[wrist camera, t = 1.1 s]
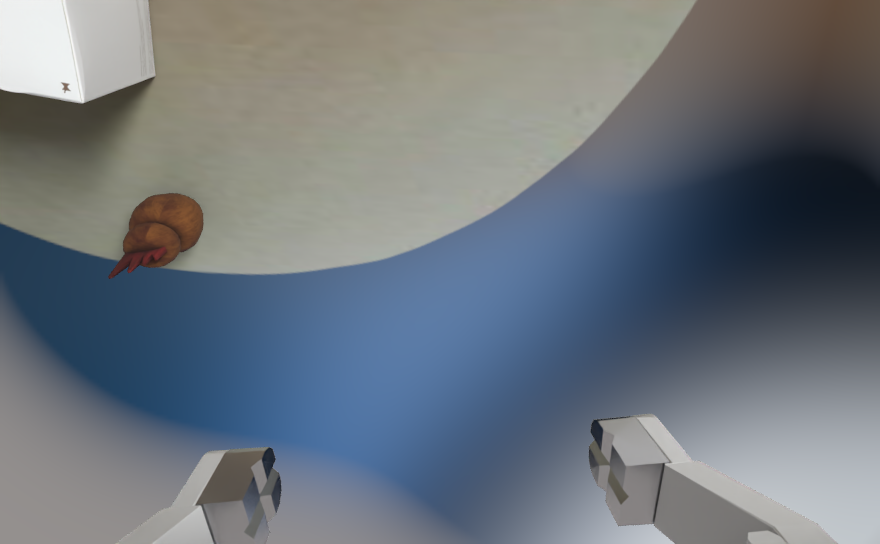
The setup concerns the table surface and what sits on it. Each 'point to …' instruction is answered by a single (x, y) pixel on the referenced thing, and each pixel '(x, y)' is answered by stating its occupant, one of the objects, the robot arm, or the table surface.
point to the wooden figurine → (160, 231)
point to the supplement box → (74, 47)
